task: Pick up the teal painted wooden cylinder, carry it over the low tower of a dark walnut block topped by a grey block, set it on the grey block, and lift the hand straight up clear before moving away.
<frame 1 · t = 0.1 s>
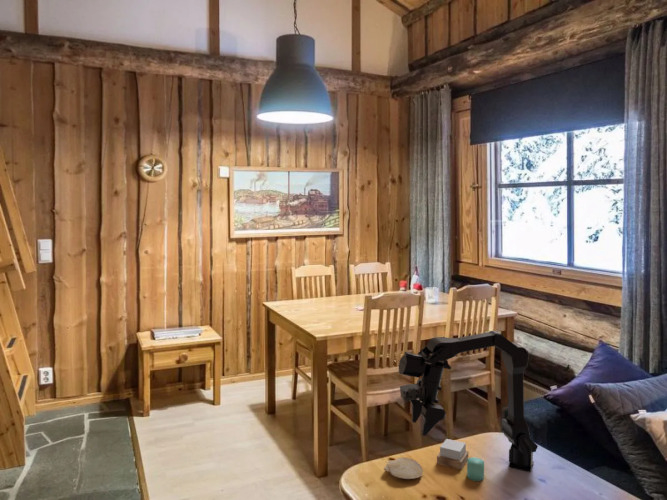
hand: (418, 428, 163), 15 cm above the table, fingers open, 9 cm apart
walnut base: (452, 462, 174), on the table
teal cylinder: (475, 476, 164), on the table
grey block: (452, 453, 174), point 3 cm above the table
seashell: (403, 475, 166), on the table
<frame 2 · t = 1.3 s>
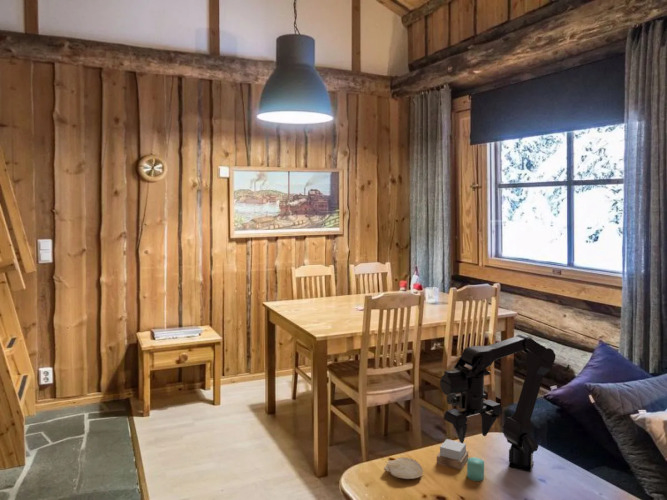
hand: (472, 439, 163), 12 cm above the table, fingers open, 9 cm apart
walnut base: (452, 462, 174), on the table, touching grey block
grey block: (452, 454, 173), point 3 cm above the table, touching walnut base
everything else where it was.
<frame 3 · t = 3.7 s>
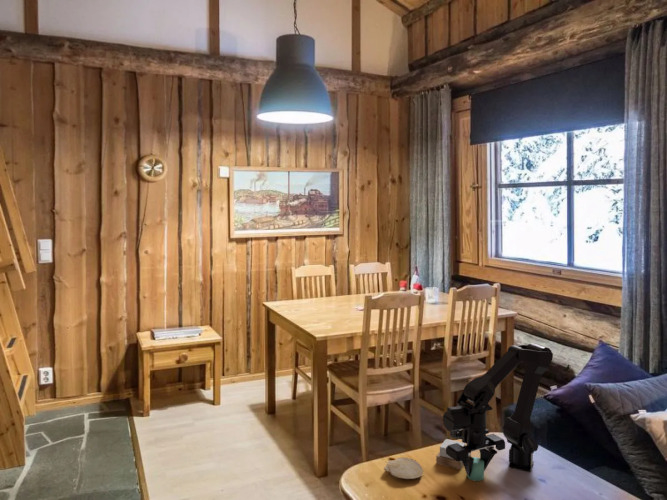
hand: (475, 473, 164), 1 cm above the table, fingers closed on teal cylinder, 5 cm apart
teal cylinder: (475, 476, 164), on the table, touching gripper
everything else where it was.
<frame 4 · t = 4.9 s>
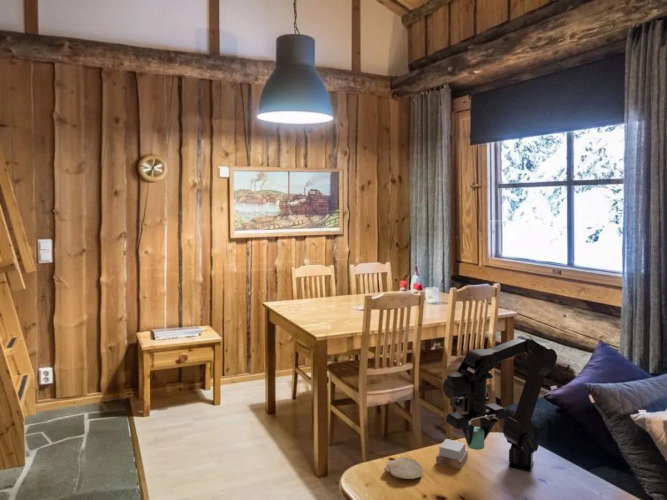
hand: (475, 442, 163), 11 cm above the table, fingers closed on teal cylinder, 5 cm apart
teal cylinder: (475, 445, 163), point 10 cm above the table, touching gripper
everything else where it was.
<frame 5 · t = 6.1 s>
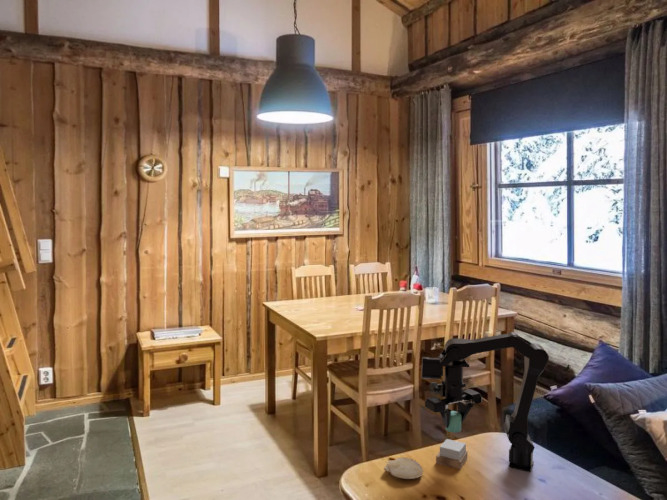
hand: (453, 425, 173), 12 cm above the table, fingers closed on teal cylinder, 5 cm apart
teal cylinder: (453, 429, 173), point 11 cm above the table, touching gripper
everything else where it was.
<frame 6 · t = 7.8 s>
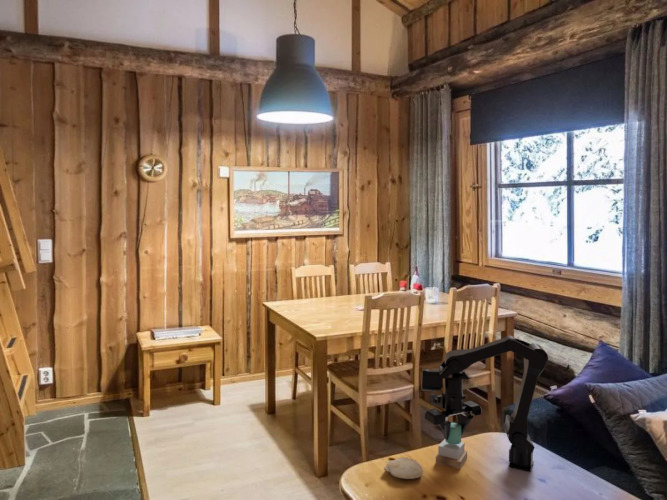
hand: (453, 437, 173), 8 cm above the table, fingers closed on teal cylinder, 5 cm apart
teal cylinder: (453, 440, 173), point 7 cm above the table, touching gripper
everything else where it was.
when the fingers open (8 cm above the table, at t = 7.8 s): teal cylinder drops 1 cm, resting on grey block.
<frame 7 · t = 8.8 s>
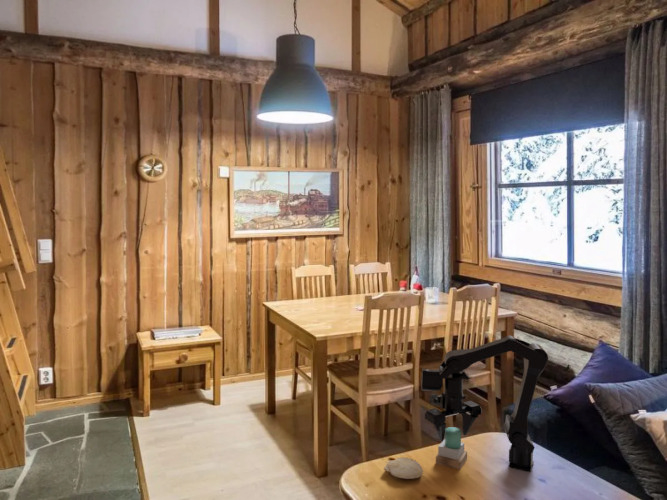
hand: (453, 437, 173), 8 cm above the table, fingers open, 9 cm apart
teal cylinder: (453, 445, 173), point 5 cm above the table, touching grey block
grey block: (451, 453, 174), point 2 cm above the table, touching teal cylinder, walnut base
everything else where it was.
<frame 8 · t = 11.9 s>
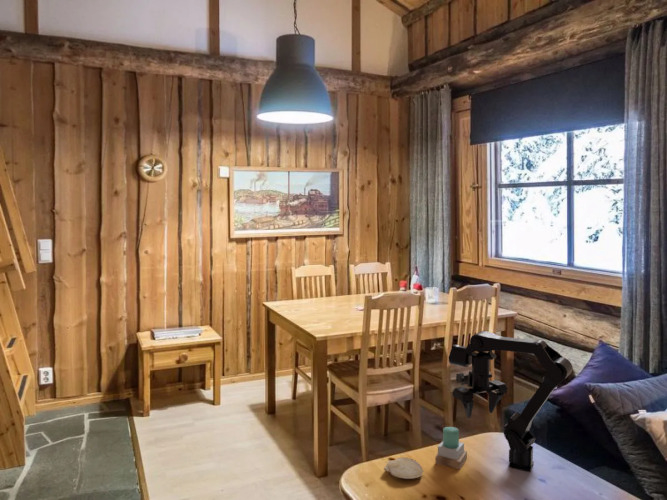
hand: (479, 415, 178), 13 cm above the table, fingers open, 9 cm apart
nothing on the table moved.
at the end: teal cylinder 0.2 cm off-centre on the grey block, point 3.1 cm above the grey block's base; grey block moved 0.9 cm from its start; teal cylinder tilted 1° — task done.
